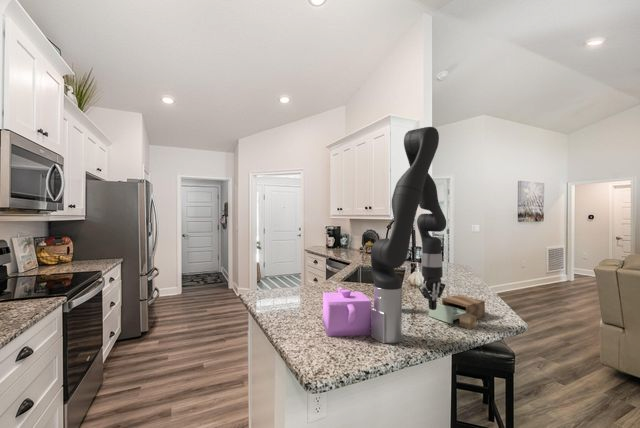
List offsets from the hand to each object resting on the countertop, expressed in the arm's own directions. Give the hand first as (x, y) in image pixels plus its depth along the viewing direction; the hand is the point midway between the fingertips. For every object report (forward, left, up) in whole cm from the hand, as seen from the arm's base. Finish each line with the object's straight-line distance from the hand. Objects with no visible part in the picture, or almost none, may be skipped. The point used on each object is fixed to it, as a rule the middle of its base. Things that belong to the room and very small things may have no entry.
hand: (432, 309), depth 111 cm
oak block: (+9, -9, -5) cm, 13 cm away
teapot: (-32, +13, -6) cm, 35 cm away
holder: (+20, +1, -5) cm, 21 cm away
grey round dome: (+10, +1, -3) cm, 11 cm away
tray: (+11, +1, -5) cm, 12 cm away
